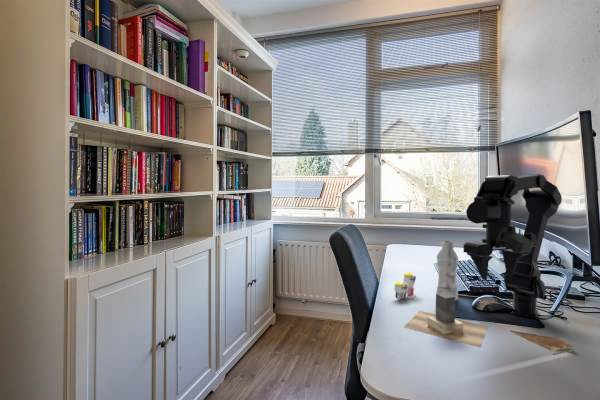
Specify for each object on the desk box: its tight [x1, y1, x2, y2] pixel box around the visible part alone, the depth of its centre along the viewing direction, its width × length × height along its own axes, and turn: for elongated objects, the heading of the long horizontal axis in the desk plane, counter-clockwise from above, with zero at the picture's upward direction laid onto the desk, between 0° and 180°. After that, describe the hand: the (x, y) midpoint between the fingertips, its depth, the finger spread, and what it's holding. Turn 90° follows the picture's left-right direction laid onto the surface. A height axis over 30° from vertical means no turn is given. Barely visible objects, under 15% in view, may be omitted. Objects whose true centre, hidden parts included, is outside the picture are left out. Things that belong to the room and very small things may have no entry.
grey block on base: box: [428, 293, 463, 336], centre depth 84 cm, size 6×6×9 cm
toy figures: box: [393, 272, 417, 301], centre depth 109 cm, size 12×4×8 cm, turn 134°
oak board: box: [403, 310, 489, 348], centre depth 85 cm, size 14×18×1 cm
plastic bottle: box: [435, 240, 459, 302], centre depth 106 cm, size 6×7×20 cm
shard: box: [509, 330, 575, 356], centre depth 78 cm, size 11×8×2 cm
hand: (497, 278), depth 88 cm, fingers open, 9 cm apart
